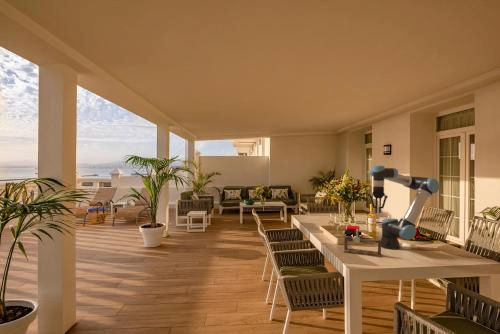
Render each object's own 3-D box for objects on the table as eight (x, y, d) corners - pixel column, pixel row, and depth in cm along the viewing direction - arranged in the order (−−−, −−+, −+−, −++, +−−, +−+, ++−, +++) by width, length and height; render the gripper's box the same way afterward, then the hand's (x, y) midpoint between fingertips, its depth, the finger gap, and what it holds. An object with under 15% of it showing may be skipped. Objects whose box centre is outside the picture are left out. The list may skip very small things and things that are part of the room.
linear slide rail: (380, 253, 225) (381, 238, 225) (380, 257, 218) (381, 241, 217) (344, 249, 235) (345, 235, 235) (343, 252, 228) (344, 237, 227)
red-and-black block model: (343, 230, 261) (345, 224, 285) (343, 240, 262) (345, 233, 285) (361, 232, 256) (361, 226, 279) (360, 242, 256) (361, 235, 279)
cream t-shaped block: (359, 241, 229) (360, 229, 229) (359, 243, 225) (359, 230, 224) (354, 241, 230) (354, 228, 230) (353, 242, 226) (354, 230, 226)
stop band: (354, 240, 230) (354, 236, 230) (354, 241, 227) (354, 237, 227) (352, 240, 230) (353, 236, 230) (352, 241, 227) (352, 237, 227)
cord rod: (379, 243, 223) (379, 239, 223) (379, 244, 220) (379, 240, 220) (346, 239, 232) (346, 235, 232) (345, 240, 229) (345, 236, 229)
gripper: (369, 186, 221) (368, 217, 222) (388, 186, 216) (387, 219, 216) (369, 185, 228) (368, 215, 228) (388, 186, 222) (387, 217, 223)
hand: (377, 217), depth 222 cm, fingers closed
